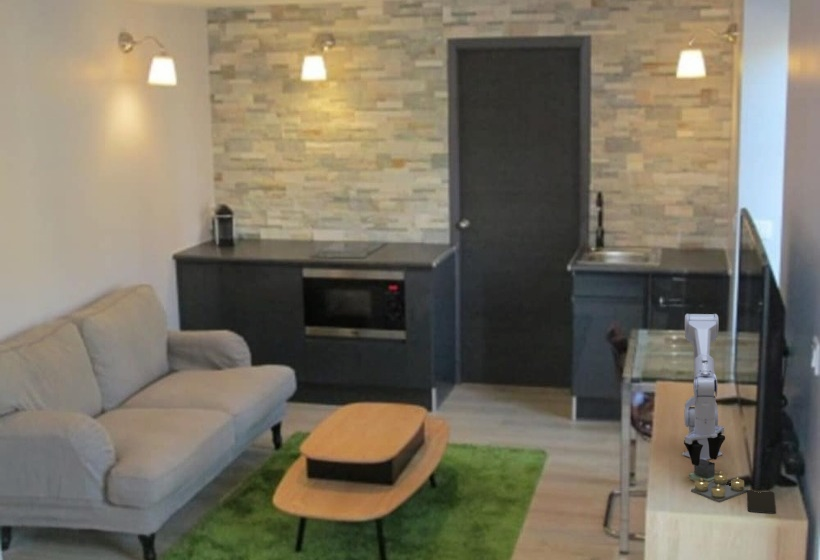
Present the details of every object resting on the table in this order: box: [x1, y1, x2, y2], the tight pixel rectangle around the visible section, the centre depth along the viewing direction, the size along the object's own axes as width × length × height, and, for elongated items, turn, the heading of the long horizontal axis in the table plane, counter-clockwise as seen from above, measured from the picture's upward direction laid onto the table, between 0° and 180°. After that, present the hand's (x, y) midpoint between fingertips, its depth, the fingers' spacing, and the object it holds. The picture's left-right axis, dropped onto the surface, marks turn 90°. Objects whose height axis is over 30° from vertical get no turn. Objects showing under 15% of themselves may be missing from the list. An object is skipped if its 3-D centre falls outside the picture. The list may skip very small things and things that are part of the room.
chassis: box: [690, 470, 749, 503], centre depth 309 cm, size 12×10×4 cm
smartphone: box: [746, 489, 777, 515], centre depth 301 cm, size 7×1×15 cm
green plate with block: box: [688, 459, 719, 483], centre depth 320 cm, size 9×7×5 cm
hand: (704, 461), depth 319 cm, fingers open, 7 cm apart
